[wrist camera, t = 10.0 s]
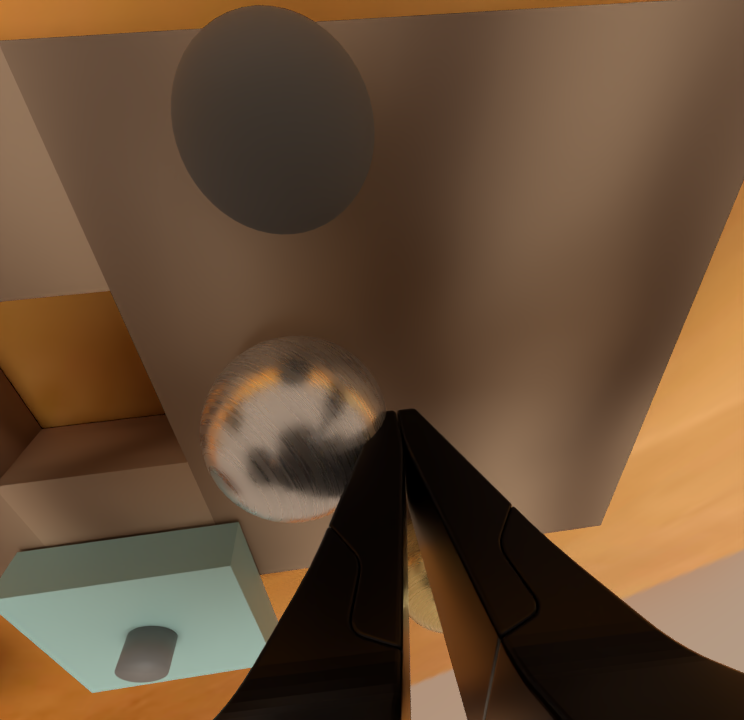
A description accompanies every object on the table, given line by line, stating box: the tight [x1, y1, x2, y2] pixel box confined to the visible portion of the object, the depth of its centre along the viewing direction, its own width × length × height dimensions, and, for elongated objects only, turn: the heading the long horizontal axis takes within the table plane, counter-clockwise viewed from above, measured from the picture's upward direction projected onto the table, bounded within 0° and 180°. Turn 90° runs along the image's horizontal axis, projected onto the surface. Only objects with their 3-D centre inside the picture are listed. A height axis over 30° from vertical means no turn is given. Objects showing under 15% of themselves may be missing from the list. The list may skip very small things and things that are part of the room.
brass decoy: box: [407, 517, 443, 633], centre depth 13 cm, size 4×4×4 cm
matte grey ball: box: [171, 5, 374, 235], centre depth 6 cm, size 3×3×3 cm
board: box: [0, 0, 744, 578], centre depth 12 cm, size 22×16×2 cm
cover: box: [0, 522, 278, 693], centre depth 14 cm, size 7×7×2 cm
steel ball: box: [200, 336, 387, 523], centre depth 9 cm, size 4×4×4 cm
